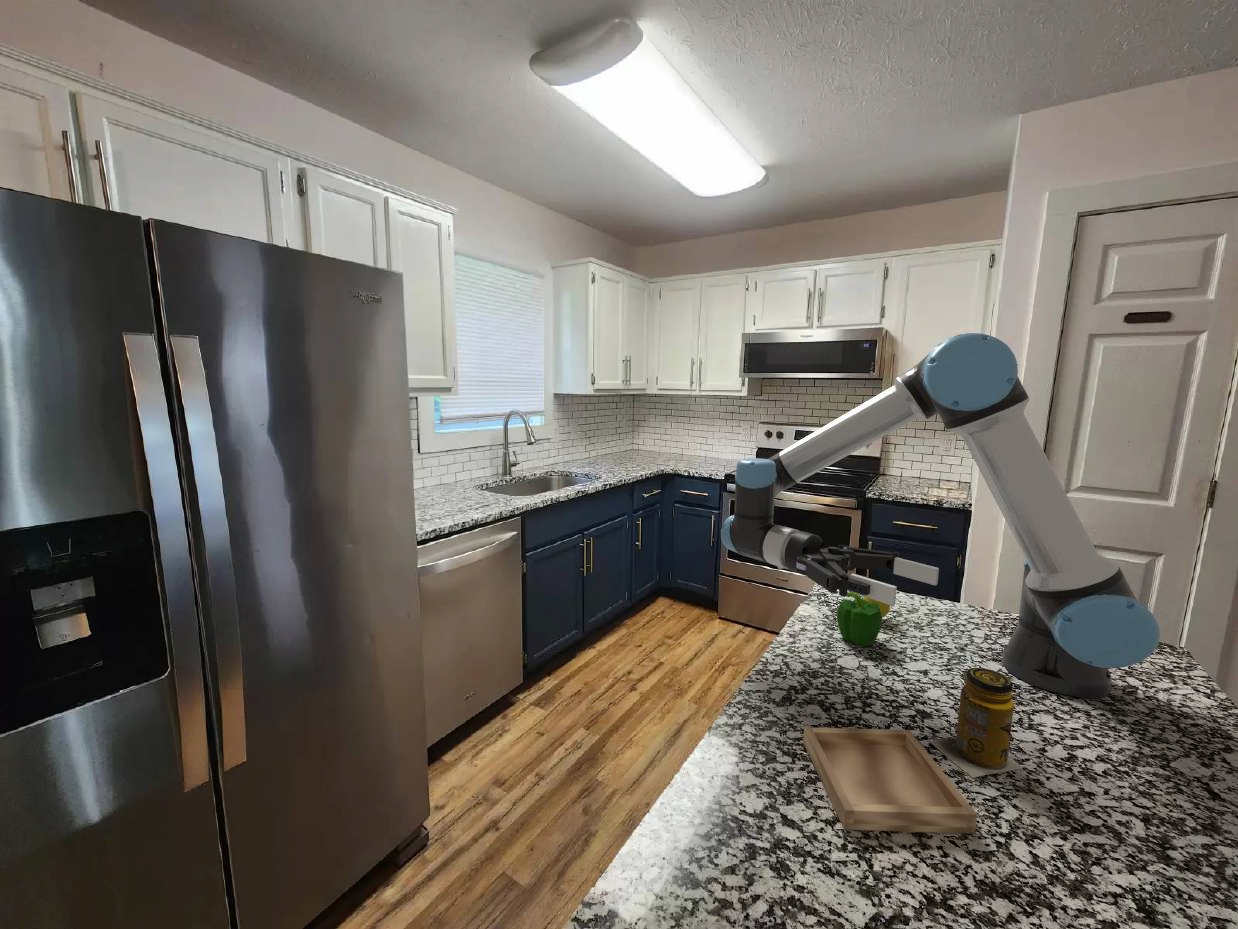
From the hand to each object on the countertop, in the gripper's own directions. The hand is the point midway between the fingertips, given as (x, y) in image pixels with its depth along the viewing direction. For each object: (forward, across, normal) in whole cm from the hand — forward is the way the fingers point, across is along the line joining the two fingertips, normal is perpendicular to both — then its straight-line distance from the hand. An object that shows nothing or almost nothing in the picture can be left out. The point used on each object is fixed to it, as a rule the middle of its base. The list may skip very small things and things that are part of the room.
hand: (917, 586), depth 77 cm
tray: (+4, +16, -22) cm, 28 cm away
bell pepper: (-18, -20, -22) cm, 35 cm away
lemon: (-21, -32, -22) cm, 45 cm away
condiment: (+10, 0, -22) cm, 24 cm away
